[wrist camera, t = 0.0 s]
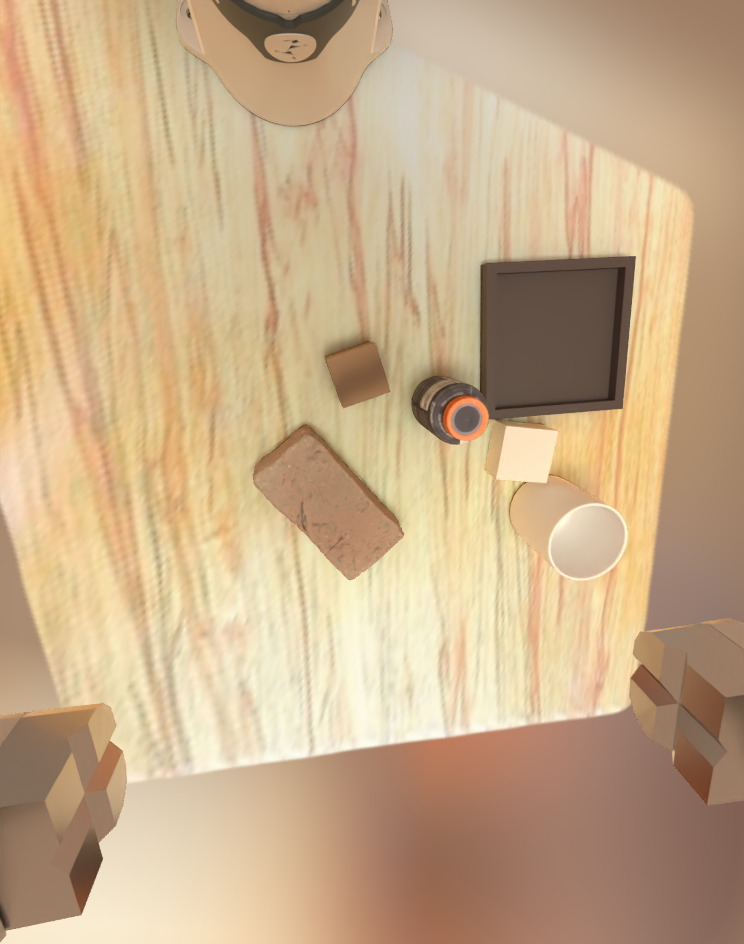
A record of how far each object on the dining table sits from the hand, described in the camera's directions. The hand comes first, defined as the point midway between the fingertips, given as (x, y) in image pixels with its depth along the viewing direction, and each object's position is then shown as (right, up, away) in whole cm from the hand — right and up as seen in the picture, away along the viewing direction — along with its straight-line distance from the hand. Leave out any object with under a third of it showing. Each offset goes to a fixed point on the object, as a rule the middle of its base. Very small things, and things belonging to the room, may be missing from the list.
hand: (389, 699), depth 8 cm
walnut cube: (-2, +14, +46) cm, 48 cm away
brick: (-5, +1, +50) cm, 50 cm away
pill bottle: (+7, +11, +48) cm, 50 cm away
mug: (+22, -2, +54) cm, 58 cm away
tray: (+20, +18, +48) cm, 55 cm away
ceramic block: (+16, +6, +51) cm, 54 cm away
